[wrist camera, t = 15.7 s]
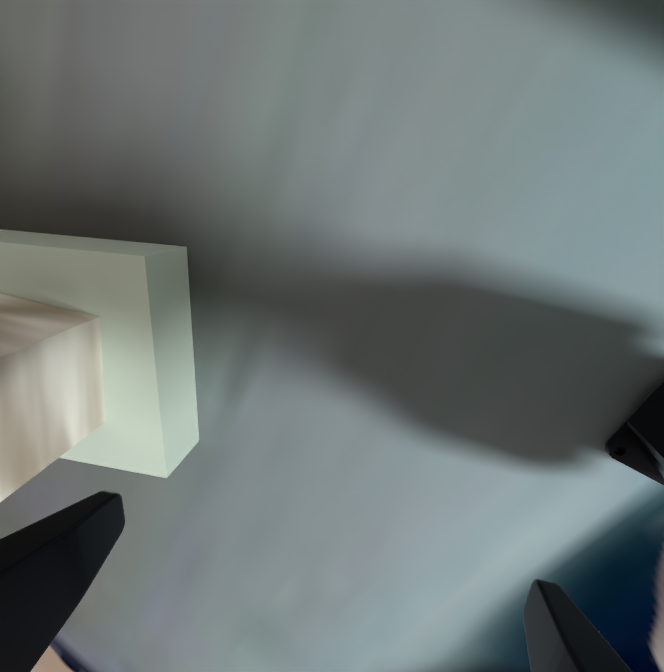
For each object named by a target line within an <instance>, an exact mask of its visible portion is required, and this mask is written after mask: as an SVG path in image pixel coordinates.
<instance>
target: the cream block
mask: <svg viewBox="0 0 664 672" xmlns="http://www.w3.org/2000/svg"><path fill="white" fill-rule="evenodd" d="M103 423H105V414H104V390H103V367H102V345H101V323H100V316H95V315H91V314H87V313H82V312H78V311H74V310H69V309H65V308H61V307H57V306H52V305H48V304H44V303H39V302H35V301H31V300H27V299H22V298H18V297H14V296H9V295H5V294H1V293H0V502H1V501H3V500H4V499H5V498H7V497H8V496H9V495H10V494H12V493H13V492H14V491H16V490H17V489H18V488H20V487H21V486H22V485H24V484H25V483H26V482H27V481H29V480H30V479H31V478H33V477H34V476H35V475H37V474H38V473H39V472H41V471H42V470H43V469H44V468H46V467H47V466H48V465H50V464H51V463H52V462H54V461H55V460H56V459H57V458H59V457H60V456H61V455H63V454H64V453H65V452H67V451H68V450H69V449H71V448H72V447H73V446H74V445H76V444H77V443H78V442H80V441H81V440H82V439H84V438H85V437H86V436H88V435H89V434H90V433H91V432H93V431H94V430H95V429H97V428H98V427H99V426H101V425H102V424H103Z"/></svg>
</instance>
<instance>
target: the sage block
mask: <svg viewBox="0 0 664 672" xmlns="http://www.w3.org/2000/svg"><path fill="white" fill-rule="evenodd" d="M0 293H1V294H5V295H9V296H14V297H18V298H22V299H27V300H31V301H35V302H39V303H44V304H48V305H52V306H57V307H61V308H65V309H69V310H74V311H78V312H82V313H87V314H91V315H95V316H100V323H101V345H102V367H103V390H104V414H105V423H103V424H102V425H101V426H99V427H98V428H97V429H95V430H94V431H93V432H91V433H90V434H89V435H88V436H86V437H85V438H84V439H82V440H81V441H80V442H78V443H77V444H76V445H74V446H73V447H72V448H71V449H69V450H68V451H67V452H65V453H64V454H63V455H61V456H60V457H59V458H63V459H69V460H74V461H79V462H84V463H90V464H95V465H100V466H105V467H111V468H116V469H121V470H127V471H132V472H137V473H142V474H148V475H153V476H158V477H163V478H167V477H168V476H169V475H170V474H171V473H172V471H173V470H174V469H175V468H176V467H177V466H178V465H179V463H180V462H181V461H182V460H183V459H184V458H185V456H186V455H187V454H188V453H189V452H190V451H191V449H192V448H193V447H194V446H195V445H196V444H197V442H198V441H199V433H198V417H197V401H196V385H195V370H194V354H193V338H192V322H191V307H190V291H189V275H188V260H187V247H185V246H174V245H164V244H153V243H142V242H131V241H121V240H110V239H99V238H88V237H78V236H67V235H56V234H45V233H35V232H24V231H13V230H2V229H0Z"/></svg>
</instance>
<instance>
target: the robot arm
mask: <svg viewBox="0 0 664 672" xmlns="http://www.w3.org/2000/svg"><path fill="white" fill-rule="evenodd" d="M617 447H622V448H621V449H620V450H617V451H615V449H616V448H617ZM605 449H606V451H607V452H608V454H609V455H610V456H611V457H612V458H613V459H615V460H617V461H619V462H621V463H623V464H625V465H627V466H629V467H630V468H632V469H634V470H636V471H638V472H640V473H642V474H644V475H646V476H647V477H649V478H651V479H653V480H655V481H657V482H659V483H661V484H663V485H664V383H663V384H662V385H661V386H660V387H659V388H658V389H657V390H656V391H655V392H654V393H653V394H652V395H651V396H650V397H649V398H648V399H647V400H646V401H645V402H644V403H643V404H642V405H641V407H640V408H639V409H638V410H637V411H636V412H635V413H634V414H633V415H632V416H631V417H630V418H629V419H628V421H627V422H626V423H625V424H624V425H623V426H622V427H621V428H620V429H619V430H618V431H617V432H616V433H615V434H614V435H613V436H612V437H611V438H610V439H609V440H608V441H607V443H606V445H605ZM124 525H125V516H124V509H123V502H122V497H121V495H120V494H119V493H115V492H110V491H100V492H98V493H95V494H93V495H91V496H89V497H87V498H85V499H83V500H81V501H79V502H77V503H75V504H73V505H70V506H68V507H66V508H64V509H62V510H60V511H58V512H56V513H54V514H52V515H50V516H48V517H45V518H43V519H41V520H39V521H37V522H35V523H33V524H31V525H29V526H27V527H25V528H23V529H21V530H18V531H16V532H14V533H12V534H10V535H8V536H6V537H4V538H2V539H0V672H30V671H31V670H32V669H33V667H34V666H35V664H36V663H37V662H38V660H39V659H40V657H41V656H42V655H43V653H44V652H45V650H46V649H47V648H48V646H49V645H50V643H51V642H52V641H53V639H54V638H55V636H56V635H57V634H58V632H59V631H60V629H61V628H62V627H63V625H64V624H65V622H66V621H67V619H68V618H69V617H70V615H71V614H72V612H73V611H74V610H75V608H76V607H77V605H78V604H79V602H80V601H81V599H82V598H83V596H84V595H85V593H86V591H87V590H88V588H89V587H90V585H91V583H92V582H93V580H94V578H95V577H96V575H97V573H98V571H99V570H100V568H101V566H102V565H103V563H104V561H105V560H106V558H107V556H108V555H109V553H110V551H111V550H112V548H113V546H114V545H115V543H116V541H117V540H118V538H119V536H120V534H121V533H122V531H123V528H124ZM523 619H524V627H525V633H526V640H527V647H528V654H529V661H530V668H531V672H633V671H632V670H631V669H630V668H629V667H628V666H627V664H626V663H625V662H624V661H623V660H622V659H621V657H620V656H619V655H618V654H617V653H616V651H615V650H614V649H613V648H612V647H611V646H610V644H609V643H608V642H607V641H606V640H605V638H604V637H603V636H602V635H601V634H600V633H599V631H598V630H597V629H596V628H595V627H594V625H593V624H592V623H591V622H590V621H589V620H588V618H587V617H586V616H585V615H584V614H583V613H582V611H581V610H580V609H579V608H578V607H577V605H576V604H575V603H574V602H573V601H572V600H571V598H570V597H569V596H568V595H567V594H566V592H565V591H564V590H563V589H562V588H561V587H560V586H559V585H558V584H556V583H554V582H550V581H545V580H540V579H535V580H534V581H533V583H532V585H531V588H530V591H529V594H528V597H527V600H526V603H525V606H524V611H523Z"/></svg>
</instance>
